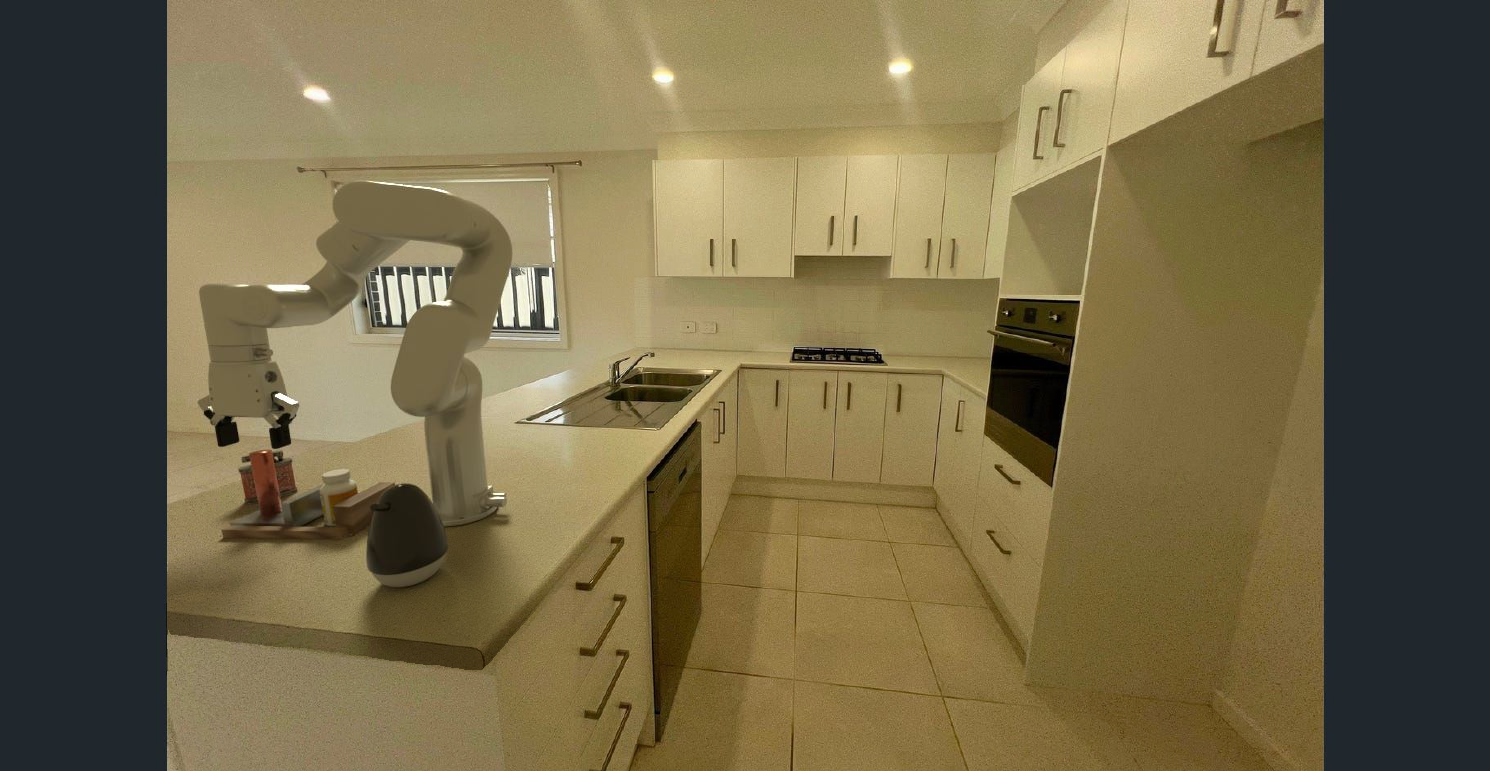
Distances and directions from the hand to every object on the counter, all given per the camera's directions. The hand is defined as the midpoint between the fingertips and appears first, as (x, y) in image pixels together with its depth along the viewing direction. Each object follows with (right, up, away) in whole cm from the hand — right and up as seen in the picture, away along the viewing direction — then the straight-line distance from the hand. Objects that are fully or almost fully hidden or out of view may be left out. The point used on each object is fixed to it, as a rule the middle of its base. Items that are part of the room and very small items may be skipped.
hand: (255, 445), depth 88 cm
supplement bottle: (+14, -15, +3) cm, 21 cm away
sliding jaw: (+3, -14, +3) cm, 15 cm away
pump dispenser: (+39, -19, -15) cm, 46 cm away
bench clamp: (+10, -15, +3) cm, 18 cm away
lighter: (-10, -13, +13) cm, 20 cm away
